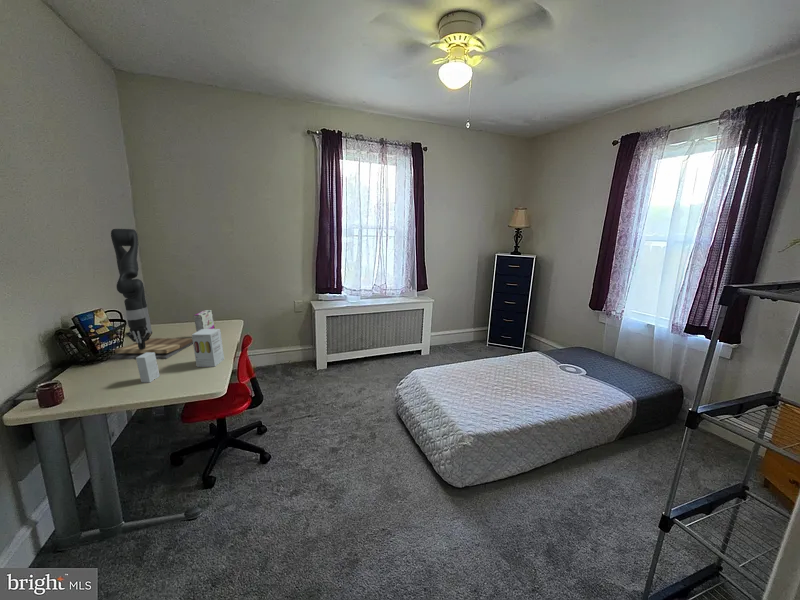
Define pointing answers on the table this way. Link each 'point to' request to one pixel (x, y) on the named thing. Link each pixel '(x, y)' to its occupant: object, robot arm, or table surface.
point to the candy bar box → (204, 320)
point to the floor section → (158, 341)
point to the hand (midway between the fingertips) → (142, 349)
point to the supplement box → (208, 347)
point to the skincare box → (147, 367)
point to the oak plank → (148, 349)
